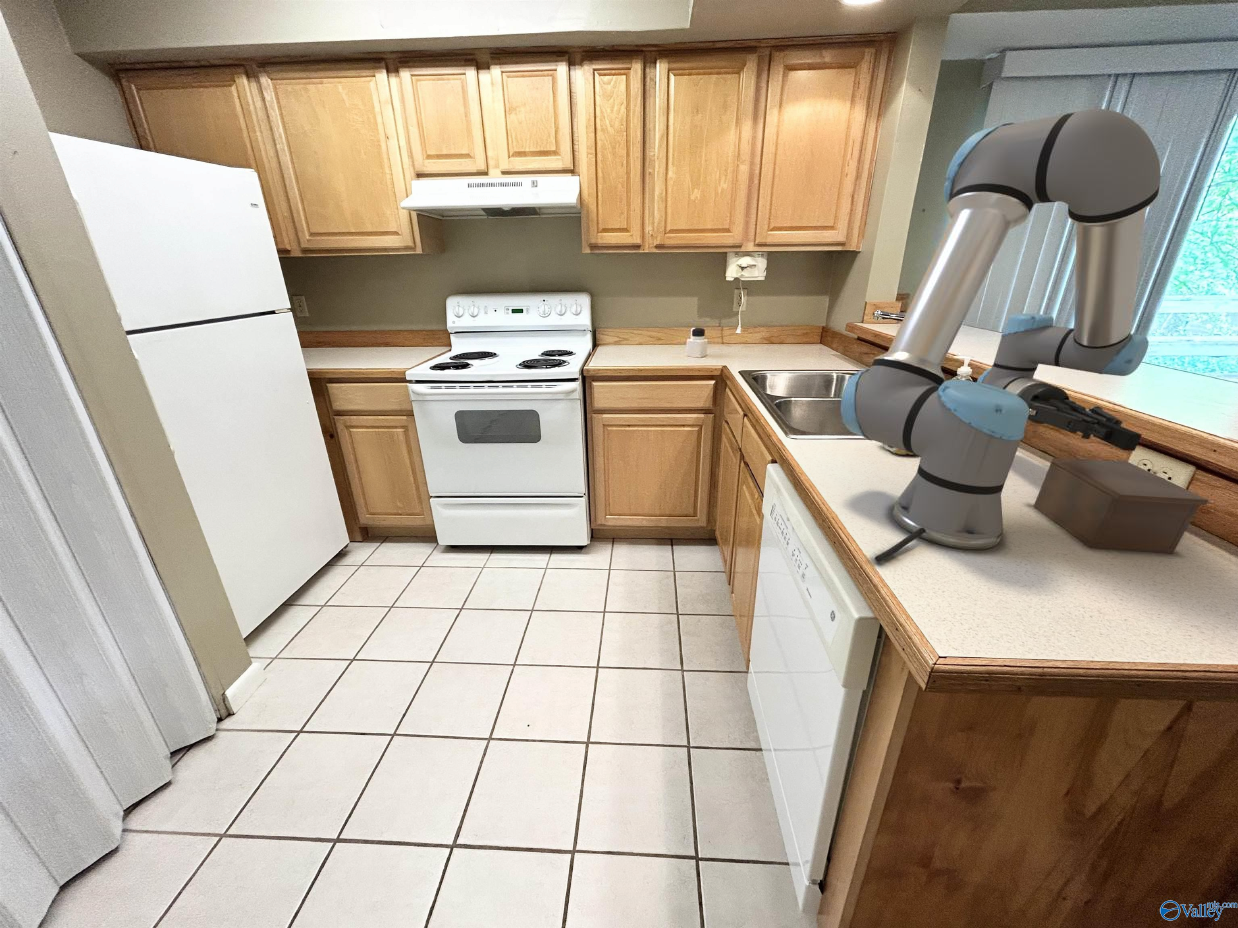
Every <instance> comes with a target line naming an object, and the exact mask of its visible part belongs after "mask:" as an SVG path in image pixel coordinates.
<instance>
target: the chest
mask: <svg viewBox="0 0 1238 928" xmlns="http://www.w3.org/2000/svg"><path fill="white" fill-rule="evenodd" d="M1199 507H1200V505H1196V504H1180V503H1164V502H1148V501H1132V500H1118V499H1116V498H1114V497H1113V496H1111V495H1109V494H1107V493H1106V492H1104V491H1102V490H1100V489H1099V488H1097V487H1095V486H1093V485H1092V484H1090V483H1088V482H1086V481H1085V480H1083V479H1081V478H1079V477H1078V476H1076V475H1074V474H1072V473H1071V472H1069V471H1067V470H1065V469H1064V468H1062V467H1060V466H1058V465H1057V464H1055V463H1053V462H1052V461H1051V462H1050V464H1049V467H1048V469H1047V471H1046V474H1045V476H1044V479H1043V481H1042V484H1041V486H1040V489H1039V491H1038V494H1037V497H1036V499H1035V501H1034V504H1033V508H1035V509H1037V510H1038V511H1039V512H1040V513H1041V514H1043V515H1044V516H1046V517H1047V518H1049V519H1050V520H1051V521H1053V522H1054V523H1055V524H1057V526H1060V527H1061V528H1062V529H1064V530H1065V531H1067V532H1068V533H1069V534H1070V535H1072V536H1073V537H1075V538H1077V539H1078V540H1079V541H1080V542H1082V543H1083V544H1085V545H1086V546H1088V547H1089V548H1092V549H1106V550H1120V551H1134V552H1147V553H1148V552H1149V553H1162V554H1174V553H1175V551H1176V549H1177V548H1178V545H1179V544H1180V542H1181V540H1182V538H1183V537H1184V534H1185V533H1186V531H1187V529H1188V527H1189V526H1190V525H1191V524H1190V523H1191V522H1192V520H1193V519H1194V516H1195V514H1196V513H1197V511H1198V509H1199Z"/></svg>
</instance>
